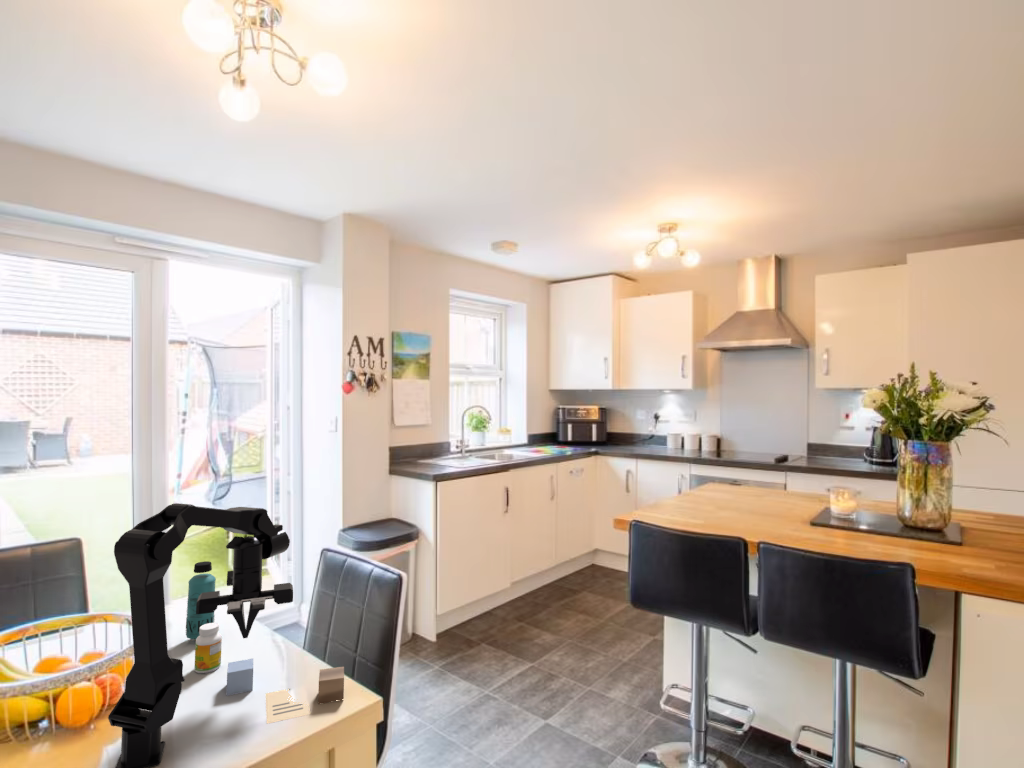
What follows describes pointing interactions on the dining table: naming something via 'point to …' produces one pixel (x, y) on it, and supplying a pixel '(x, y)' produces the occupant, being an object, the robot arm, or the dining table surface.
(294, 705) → the letter
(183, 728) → the dining table surface
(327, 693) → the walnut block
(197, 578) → the beverage bottle
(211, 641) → the supplement bottle
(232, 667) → the cube
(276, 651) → the dining table surface
